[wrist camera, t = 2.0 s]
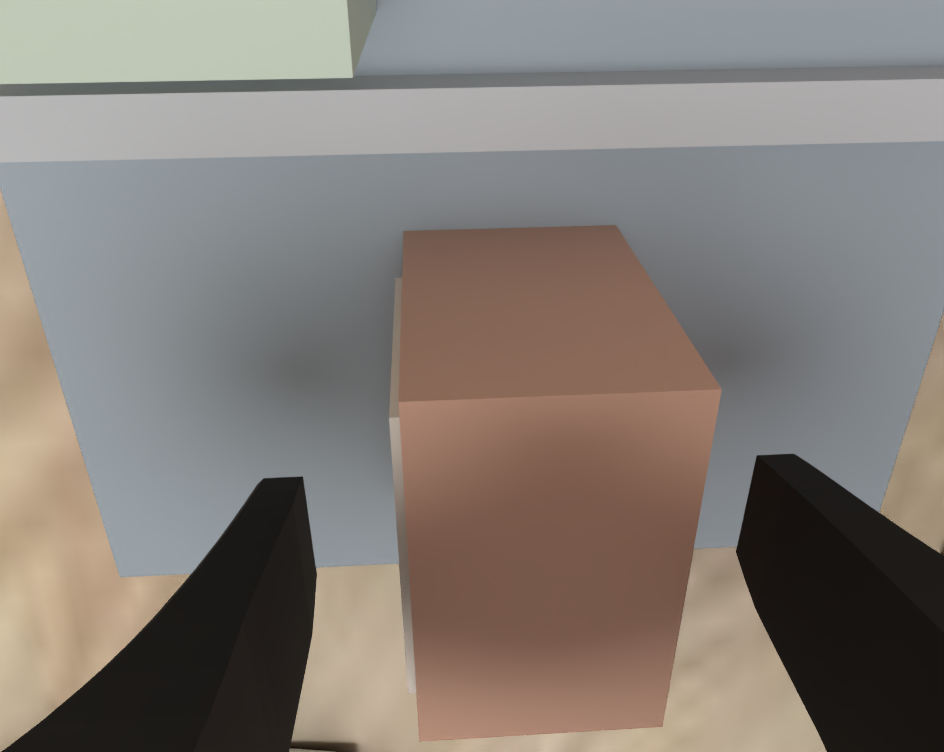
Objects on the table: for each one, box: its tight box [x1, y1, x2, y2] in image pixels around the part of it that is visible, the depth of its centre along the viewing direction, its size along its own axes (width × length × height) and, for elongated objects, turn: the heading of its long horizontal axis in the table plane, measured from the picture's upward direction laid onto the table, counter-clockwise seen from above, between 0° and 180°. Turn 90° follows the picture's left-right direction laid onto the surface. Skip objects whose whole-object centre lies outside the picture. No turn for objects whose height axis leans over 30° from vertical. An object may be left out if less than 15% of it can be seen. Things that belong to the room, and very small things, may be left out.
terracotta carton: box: [389, 225, 722, 742], centre depth 14 cm, size 6×4×6 cm, turn 0°
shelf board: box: [0, 0, 944, 577], centre depth 14 cm, size 18×18×3 cm
